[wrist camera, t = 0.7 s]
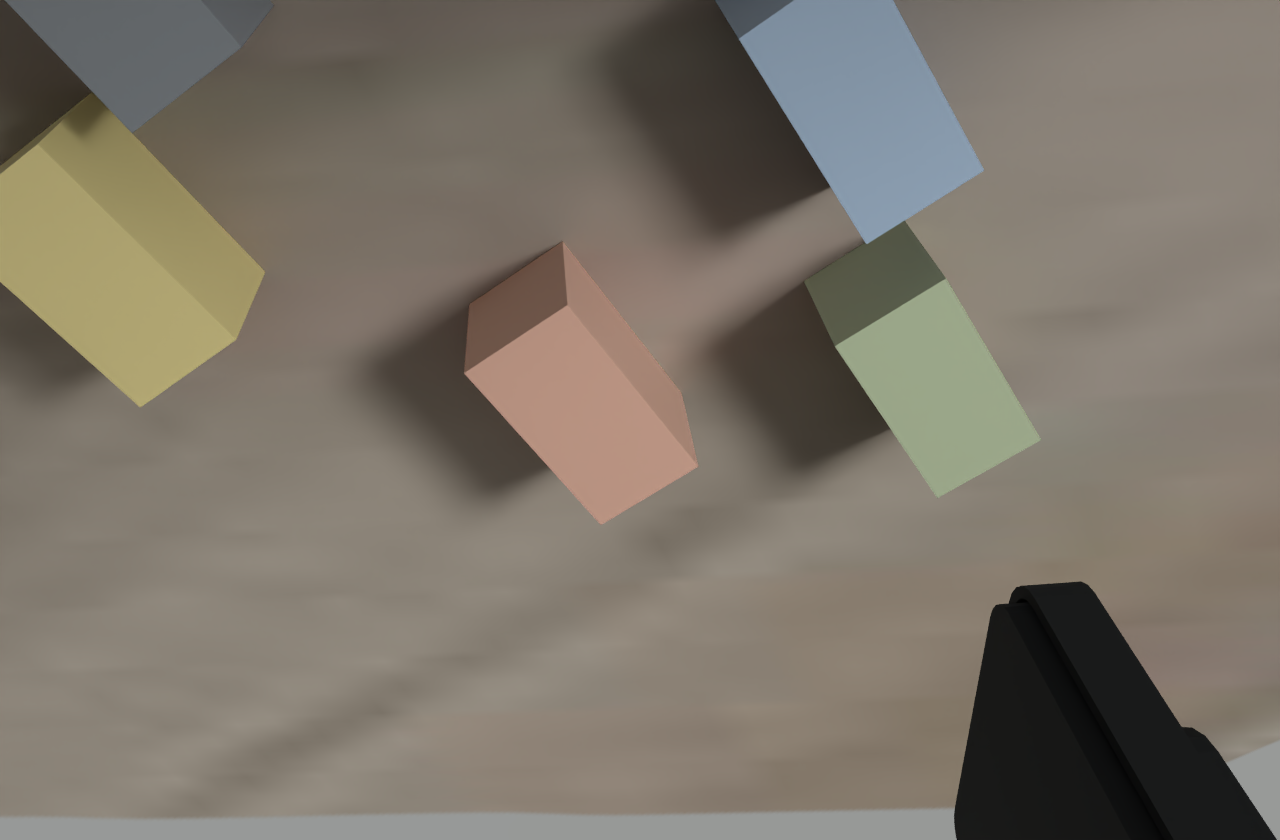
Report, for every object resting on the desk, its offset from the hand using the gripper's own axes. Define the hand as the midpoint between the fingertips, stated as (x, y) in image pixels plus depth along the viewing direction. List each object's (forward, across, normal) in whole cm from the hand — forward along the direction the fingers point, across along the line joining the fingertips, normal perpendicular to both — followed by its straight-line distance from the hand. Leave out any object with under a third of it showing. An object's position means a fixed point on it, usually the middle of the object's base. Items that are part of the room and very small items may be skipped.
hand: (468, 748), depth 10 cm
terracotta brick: (+23, -2, +8) cm, 24 cm away
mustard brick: (+23, +10, +4) cm, 25 cm away
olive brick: (+23, -11, +8) cm, 27 cm away
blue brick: (+23, -8, 0) cm, 24 cm away
